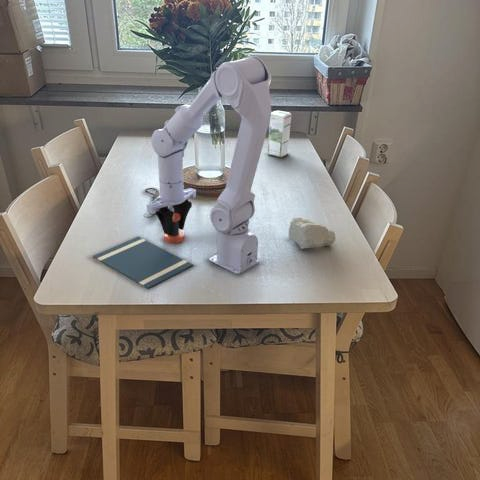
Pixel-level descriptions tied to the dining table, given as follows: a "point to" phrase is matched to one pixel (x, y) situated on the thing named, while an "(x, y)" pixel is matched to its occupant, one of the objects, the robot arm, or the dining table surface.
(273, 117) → the syrup box
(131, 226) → the dining table surface
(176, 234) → the orange thread spool
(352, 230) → the dining table surface
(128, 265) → the tea towel
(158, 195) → the hacksaw
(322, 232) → the decorative stone
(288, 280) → the dining table surface
